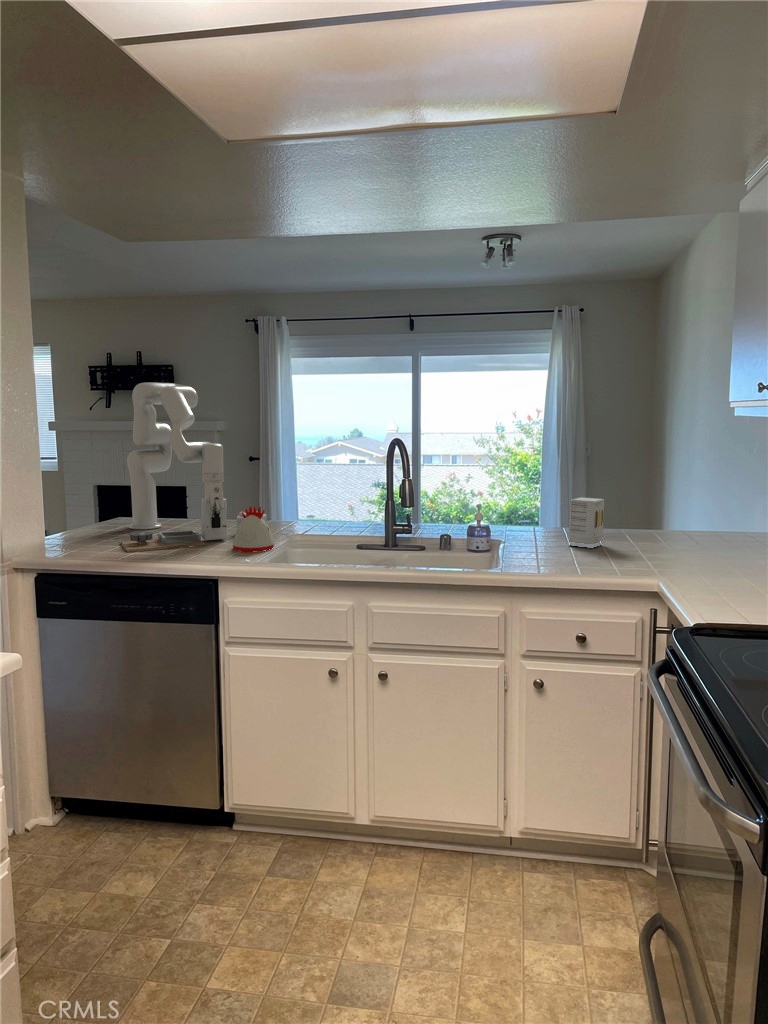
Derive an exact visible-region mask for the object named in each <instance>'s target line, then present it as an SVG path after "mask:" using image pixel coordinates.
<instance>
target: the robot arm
mask: <svg viewBox="0 0 768 1024" xmlns="http://www.w3.org/2000/svg"><path fill="white" fill-rule="evenodd" d="M131 399H132V405H133V412H134V413H133V426H132V441H133V444H134V445H135V446H137V447H143V448H147V447H148V449H136V450H133V451H131V452H130V453H129V454H128V455H127V458H126V465H127V468H128V473H129V478H130V479H129V480H130V492H131V493H130V494H131V510H132V511H131V512H132V516H131V517H132V523H130V524H129V525H128V528H129V529H132V530H152V529H153V530H154V529H158V528H161V527H162V523H161V522H158V511H157V507H158V506H157V505H158V504H157V487H156V482H155V479H154V478H153V477H152V475H151V474H152V473H162V472H166V471H168V470H169V469H170V467H171V465H172V464H171V463H172V457H173V455H172V454H173V452H174V454H175V455H176V457H177V459H178V460H179V461H180V462H182V463H185V464H191V463H193V464H194V463H201V467H202V468H201V469H202V471H201V473H202V474H201V475H202V483H204V498H206V499H209V506H210V509H212V517H211V524H212V528H220V527H221V517H220V507H221V509H223V508H224V499H225V498H224V487H223V482H225V481H224V479H225V478H224V476H225V475H224V474H225V473H224V447H223V446H224V445H222V444H221V443H212V442H209V441H186V439H185V437H184V436H183V433H182V432H183V431H186V430H187V429H188V428H190V427H191V426H192V425H193V424H194V423H195V420H196V418H195V417H196V416H195V415H194V413H193V411H192V409H195V407H197V405H198V403H199V397H198V393H197V391H196V390H195V389H194V388H193V387H192V386H187V385H184V384H178V383H172V382H141V383H138V384H136V385H135V387H134V388H133V390H132V396H131ZM154 405H155V406H156V405H160V406H161V405H162V407H163V408H164V410H165V412H166V414H167V416H168V418H169V419H170V421H171V423H172V428H171V426H170V425H169V424H167V423H164V422H157V415H158V414H157V411H156V408H155V407H154ZM149 447H150V448H152V449H149ZM153 447H155V448H153ZM223 498H224V499H223ZM219 504H220V505H219ZM213 507H216V508H214V509H213ZM214 511H215V512H214Z"/></svg>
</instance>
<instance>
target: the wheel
mask: <svg viewBox="0 0 768 1024" xmlns="http://www.w3.org/2000/svg"><path fill="white" fill-rule="evenodd" d="M139 533H145V534H141V535H139ZM152 538H153V532H149V531H137V532H131V533H129V540H131V541H146V540H152Z"/></svg>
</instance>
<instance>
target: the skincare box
mask: <svg viewBox="0 0 768 1024" xmlns="http://www.w3.org/2000/svg"><path fill="white" fill-rule="evenodd" d="M223 499H224V508H223V509H221V507H220V517H221V527H220V528H212V524H211V517H212V509H210V506H209V499H206V498H205V497H204V498H203V497H202V498H201V499H200V502H201V504H200V505H201V509H200V510H201V512H200V514H201V517H200V519H201V521H200V522H201V525H200V527H201V529H200V531H201V532H200V533H201V534H200V535H201V538H202V539H203V540H205V541H210V540H211V541H212V540H224V539H225V540H226V539H227V527H228V526H227V514H228V511H227V510H228V507H227V505H228V503H227V502H228V501H227V498H224V497H223ZM219 505H220V504H219ZM214 508H216V507H213V509H214ZM214 512H215V511H214Z"/></svg>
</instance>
